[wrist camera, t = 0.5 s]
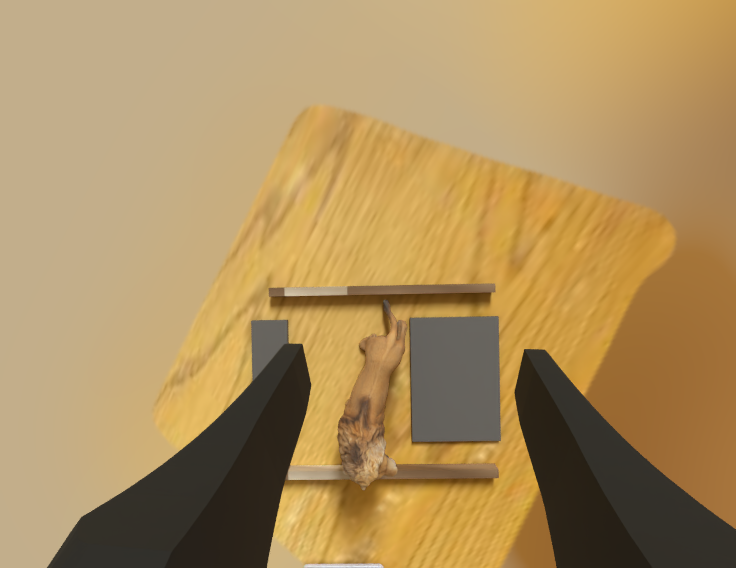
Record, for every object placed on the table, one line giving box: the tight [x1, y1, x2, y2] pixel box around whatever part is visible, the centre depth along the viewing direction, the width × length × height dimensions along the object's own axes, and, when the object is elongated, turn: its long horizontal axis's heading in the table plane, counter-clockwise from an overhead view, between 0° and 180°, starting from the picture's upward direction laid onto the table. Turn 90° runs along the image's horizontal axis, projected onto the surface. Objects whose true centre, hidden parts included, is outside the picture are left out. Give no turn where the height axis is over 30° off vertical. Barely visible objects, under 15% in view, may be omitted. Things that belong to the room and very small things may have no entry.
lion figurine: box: [337, 300, 407, 490], centre depth 33 cm, size 15×5×9 cm, turn 173°
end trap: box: [251, 320, 288, 380], centre depth 38 cm, size 12×4×1 cm, turn 1°
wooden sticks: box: [269, 284, 499, 480], centre depth 37 cm, size 18×22×1 cm
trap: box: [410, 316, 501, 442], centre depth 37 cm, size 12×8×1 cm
